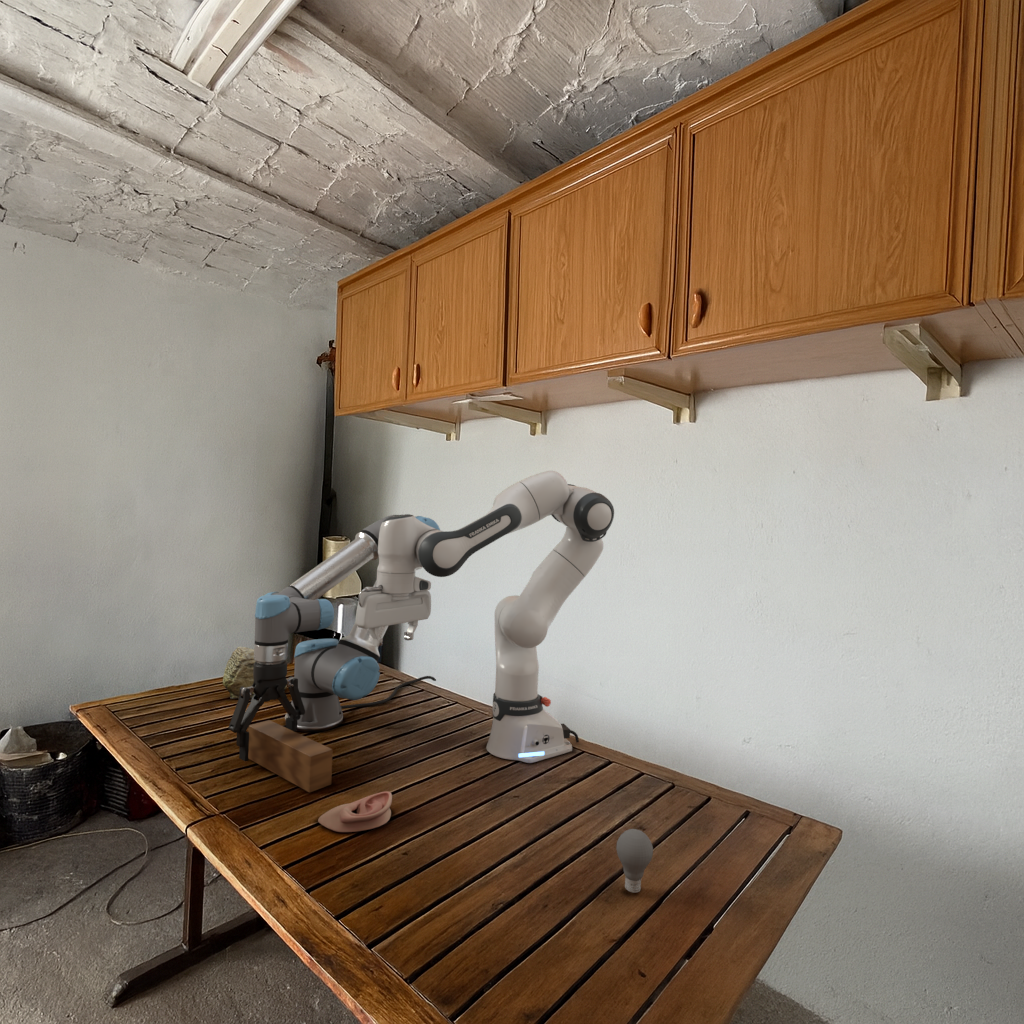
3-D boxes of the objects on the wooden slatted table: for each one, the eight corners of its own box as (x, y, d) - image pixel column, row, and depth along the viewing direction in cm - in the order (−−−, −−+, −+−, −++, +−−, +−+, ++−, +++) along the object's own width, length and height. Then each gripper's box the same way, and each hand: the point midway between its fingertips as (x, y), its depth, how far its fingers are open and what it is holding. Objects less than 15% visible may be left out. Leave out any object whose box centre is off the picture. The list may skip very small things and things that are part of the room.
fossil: (218, 695, 195) (220, 647, 195) (278, 685, 208) (279, 640, 207) (228, 703, 189) (230, 653, 188) (289, 692, 201) (290, 645, 201)
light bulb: (610, 879, 108) (613, 822, 108) (644, 879, 109) (647, 822, 109) (619, 902, 102) (622, 840, 102) (655, 901, 103) (658, 840, 103)
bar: (246, 757, 152) (248, 725, 151) (268, 751, 156) (269, 719, 156) (309, 792, 135) (310, 756, 135) (331, 784, 140) (332, 749, 140)
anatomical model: (310, 807, 121) (339, 781, 132) (309, 827, 121) (338, 800, 132) (375, 817, 118) (398, 790, 129) (374, 838, 118) (398, 809, 129)
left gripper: (230, 673, 139) (226, 772, 139) (322, 655, 157) (318, 743, 158) (214, 666, 144) (210, 762, 144) (305, 650, 162) (301, 735, 162)
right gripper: (368, 589, 138) (366, 652, 138) (436, 582, 154) (433, 638, 154) (350, 585, 141) (348, 647, 142) (418, 579, 157) (416, 634, 158)
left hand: (267, 752), depth 151 cm, fingers open, 11 cm apart
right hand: (393, 642), depth 148 cm, fingers open, 8 cm apart
